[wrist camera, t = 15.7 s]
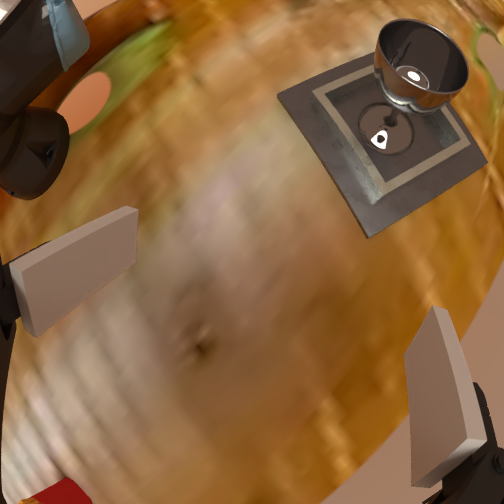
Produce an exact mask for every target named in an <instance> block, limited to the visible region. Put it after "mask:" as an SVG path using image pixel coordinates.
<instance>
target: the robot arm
mask: <svg viewBox="0 0 504 504" xmlns="http://www.w3.org/2000/svg"><path fill="white" fill-rule="evenodd" d="M89 45H90V37H89V33H88V31H87V28H86V26H85V24H84V22H83V20H82V18H81V16H80V14H79V12H78V10H77V9H76V7H75V5H74V3H73V1H72V0H0V187H1V188H3V189H4V190H5V191H6V192H7V193H8V194H10V195H11V196H13V197H16V198H19V199H23V200H31V199H34V198H36V197H38V196H40V195H41V194H42V193H43V192H45V191H46V190H47V189H48V188H49V186H50V185H51V184H52V183H53V181H54V180H55V178H56V177H57V175H58V173H59V172H60V170H61V167H62V165H63V163H64V160H65V157H66V154H67V150H68V145H69V128H68V124H67V122H66V120H65V119H64V117H63V116H61V115H60V114H59V113H57V112H55V111H54V110H52V109H49V108H39V107H33V106H28V105H29V104H30V103H31V102H32V101H33V100H34V99H35V98H36V97H37V96H38V95H39V94H40V93H41V92H42V91H43V90H45V89H46V88H47V87H48V86H49V85H50V84H51V83H52V82H53V81H54V80H55V79H57V78H58V77H59V76H60V75H61V74H62V73H63V72H64V71H65V72H67V71H68V70H69V67H70V66H71V65H72V64H73V63H75V62H76V61H77V60H78V59H79V58H80V57H81V56H83V55H84V54H85V53H86V52H87V50H88V48H89ZM138 213H139V210H138V209H135V208H132V207H129V206H123V207H121V208H119V209H117V210H114V211H112V212H110V213H108V214H106V215H103V216H101V217H99V218H97V219H95V220H93V221H91V222H88V223H86V224H84V225H82V226H80V227H78V228H76V229H74V230H72V231H70V232H68V233H66V234H64V235H62V236H60V237H58V238H56V239H54V240H52V241H48V242H45V243H43V244H41V245H39V246H38V247H37V248H34V249H32V250H30V251H29V253H28V252H26V253H24V254H23V255H21V256H19V257H17V258H15V259H13V260H12V261H10V262H8V263H6V264H4V265H3V266H2V261H1V256H0V504H7V502H6V500H5V498H4V496H3V493H2V484H1V440H2V422H3V410H4V400H5V392H6V384H7V377H8V370H9V364H10V358H11V353H12V348H13V343H14V338H15V333H16V321H15V320H16V319H18V318H19V317H20V316H21V319H22V323H23V326H24V329H25V330H26V331H28V332H29V333H30V334H31V335H33V336H34V337H35V338H38V337H39V336H40V335H41V334H43V333H44V332H45V331H46V330H48V329H49V328H50V327H51V326H53V325H54V324H55V323H57V322H58V321H59V320H60V319H62V318H63V317H64V316H66V315H67V314H68V313H69V312H71V311H72V310H73V309H75V308H76V307H77V306H78V305H80V304H81V303H82V302H84V301H85V300H86V299H88V298H89V297H90V296H92V295H93V294H94V293H96V292H97V291H98V290H100V289H101V288H102V287H104V286H105V285H106V284H108V283H109V282H110V281H112V280H113V279H115V278H116V277H117V276H119V275H120V274H121V273H123V272H124V271H126V270H127V269H128V268H130V267H131V266H132V265H134V264H135V263H136V248H137V229H138ZM404 362H405V371H406V380H407V391H408V403H409V417H410V434H411V435H410V436H411V486H413V487H424V488H431V487H432V486H434V485H435V484H436V483H437V482H439V481H440V480H442V489H441V490H439V491H438V492H437V493H435V494H434V495H432V496H431V497H429V498H428V499H426V500H425V501H424V502H422V503H423V504H426V503H427V502H428V503H427V504H504V449H503V448H500V447H498V446H497V441H496V437H495V433H494V428H493V425H492V421H491V417H490V416H489V414H490V413H489V409H488V407H487V402H486V399H485V395H484V393H483V391H482V390H481V388H480V387H479V385H478V384H477V383H475V382H472V379H471V376H470V372H469V369H468V366H467V363H466V360H465V357H464V354H463V351H462V348H461V345H460V342H459V340H458V337H457V334H456V331H455V329H454V326H453V323H452V321H451V318H450V316H449V313H448V311H447V310H446V309H443V308H440V307H437V306H434V305H432V307H431V309H430V310H429V312H428V314H427V316H426V318H425V320H424V321H423V323H422V325H421V327H420V328H419V330H418V332H417V334H416V335H415V337H414V339H413V340H412V342H411V344H410V345H409V347H408V349H407V350H406V352H405V354H404Z"/></svg>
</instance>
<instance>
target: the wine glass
mask: <svg viewBox="0 0 504 504" xmlns="http://www.w3.org/2000/svg"><path fill="white" fill-rule="evenodd" d="M374 76H375V81H376V85H377V88H378V90H379V92H380V94H381V95H382V97H383V98H384V99H385V100H386V101H387V102H388V103H385V102H376V103H372V104H370V105H368V106H366V107H365V108H364V109H363V110H362V112H361V113H360V115H359V119H358V128H359V132H360V134H361V136H362V138H363V140H364V141H365V142H366V143H367V144H368V145H369V146H370V147H371V148H372V149H374V150H375V151H377V152H379V153H382V154H386V155H399V154H402V153H404V152H405V151H407V150H408V149H409V148H410V147H411V145H412V144H413V141H414V136H415V132H414V127H413V124H412V121H411V120H410V118H409V117H408V115H412V116H425V115H429V114H432V113H434V112H436V111H438V110H440V109H442V108H443V107H445V106H446V105H447V104H449V103H450V102H451V101H452V100H453V99H454V98H455V97H456V96H457V94H458V93H459V92H460V91H461V90H462V88H463V87H464V86H465V84H466V82H467V80H468V77H469V67H468V63H467V60H466V57H465V55H464V54H463V52H462V50H461V49H460V47H459V46H458V45H457V44H456V43H455V42H454V41H453V40H452V39H451V38H450V37H449V36H448V35H447V34H446V33H444V32H443V31H441V30H440V29H438V28H436V27H434V26H433V25H431V24H428V23H425V22H423V21H419V20H415V19H396V20H393V21H390V22H389V23H387V24H385V26H384V27H383V28H382V29H381V31H380V34H379V36H378V40H377V44H376V49H375V55H374ZM407 114H408V115H407Z"/></svg>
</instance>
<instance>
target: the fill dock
mask: <svg viewBox="0 0 504 504" xmlns="http://www.w3.org/2000/svg"><path fill="white" fill-rule="evenodd" d="M374 55H375V52H373V53H370V54H368V55H365V56H363V57H360V58H357V59H355V60H352V61H350V62H347V63H345V64H342V65H340V66H338V67H335V68H333V69H331V70H328V71H326V72H324V73H321V74H319V75H317V76H314V77H312V78H310V79H308V80H306V81H303V82H301V83H299V84H297V85H295V86H293V87H291V88H289V89H287V90H284V91H282V92H280V93H278V94H277V98H278V100H279V101H280V103H281V104H282V105H283V107H284V108H285V109H286V111H287V112H288V114H289V115H290V117H291V118H292V119H293V121H294V122H295V124H296V125H297V127H298V128H299V129H300V131H301V132H302V134H303V135H304V137H305V138H306V140H307V141H308V143H309V144H310V146H311V147H312V149H313V150H314V152H315V153H316V155H317V156H318V158H319V159H320V161H321V163H322V164H323V166H324V167H325V169H326V170H327V172H328V173H329V175H330V177H331V178H332V180H333V181H334V183H335V185H336V186H337V188H338V190H339V191H340V193H341V195H342V196H343V198H344V200H345V201H346V203H347V205H348V206H349V208H350V210H351V211H352V213H353V215H354V217H355V218H356V220H357V222H358V223H359V225H360V227H361V229H362V231H363V232H364V234H365V236H366V238H369V237H371V236H373V235H374V234H376V233H378V232H379V231H381V230H383V229H384V228H386V227H388V226H389V225H391V224H393V223H394V222H396V221H398V220H399V219H401V218H403V217H404V216H406V215H408V214H409V213H411V212H412V211H414V210H416V209H417V208H419V207H420V206H422V205H424V204H425V203H427V202H428V201H430V200H432V199H433V198H435V197H436V196H438V195H440V194H441V193H443V192H444V191H446V190H447V189H449V188H450V187H452V186H454V185H455V184H457V183H458V182H460V181H461V180H463V179H464V178H466V177H467V176H469V175H471V174H472V173H474V172H475V171H477V170H478V169H480V168H481V167H483V166H484V165H486V164H487V163H488V161H487V160H486V158H485V156H484V155H483V153H482V151H481V150H480V148H479V146H478V145H477V143H476V141H475V140H474V138H473V137H472V135H471V133H470V132H469V130H468V129H467V127H466V126H465V124H464V123H463V121H462V120H461V118H460V117H459V115H458V114H457V113H456V111H455V110H454V108H453V107H452V106H451V104H450V103H449V104H447V105H446V106H445V107H443V108H442V109H440V110H438V111H436V112H434V113H432V114H429V115H425V116H412V115H408V114H407V115H408V117H409V118H410V120H411V121H412V124H413V127H414V132H415V136H414V141H413V144H412V145H411V147H410V148H409V149H408V150H407V151H405V152H404V153H402V154H399V155H386V154H382V153H379V152H377V151H375V150H374V149H372V148H371V147H370V146H369V145H368V144H367V143H366V142H365V141H364V140H363V138H362V136H361V134H360V132H359V128H358V119H359V115H360V113H361V112H362V110H363V109H364V108H365V107H366V106H368V105H370V104H372V103H376V102H385V103H388V102H387V101H386V100H385V99H384V98H383V97H382V95H381V94H380V92H379V90H378V88H377V85H376V81H375V76H374Z"/></svg>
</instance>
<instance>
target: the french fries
mask: <svg viewBox="0 0 504 504" xmlns="http://www.w3.org/2000/svg"><path fill="white" fill-rule="evenodd" d="M18 504H92V502H91V499H90V498H89V497H88V496H87V495H86V494H85V493H84V492H83V490H82V489H81V488H80V487H79V486H78V485H77V484H76V483H75V482H74V481H73V480H71V479H69V478H67V477H66V478H65V479H63V480H61V481H59V482H57V483H56V484H54V485H52V486H50V487H48V488H47V489H45V490H43V491H41V492H39V493H37V494H35V495H33V496H32V497H30V498H28V499H23V500H21V501H20V502H19V503H18Z"/></svg>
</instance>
